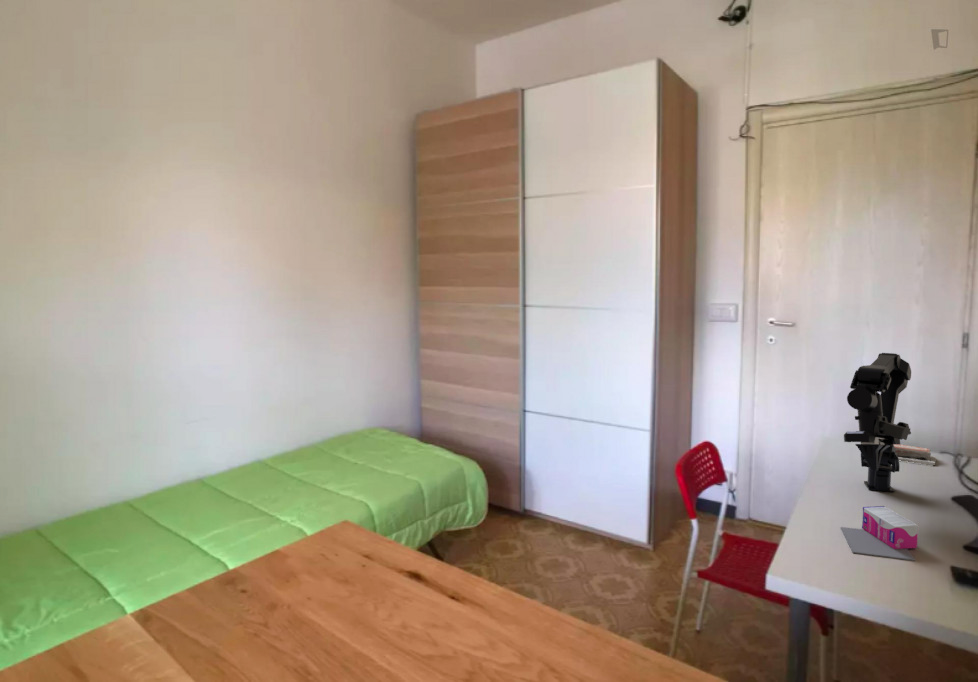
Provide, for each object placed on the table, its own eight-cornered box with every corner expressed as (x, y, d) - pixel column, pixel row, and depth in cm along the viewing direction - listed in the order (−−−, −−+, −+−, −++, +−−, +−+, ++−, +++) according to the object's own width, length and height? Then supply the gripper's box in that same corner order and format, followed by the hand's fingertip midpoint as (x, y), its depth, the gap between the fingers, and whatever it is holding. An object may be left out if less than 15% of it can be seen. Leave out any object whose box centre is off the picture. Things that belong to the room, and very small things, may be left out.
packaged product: (870, 444, 200) (873, 438, 207) (869, 458, 200) (872, 451, 208) (935, 453, 188) (936, 446, 196) (935, 467, 189) (935, 459, 197)
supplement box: (861, 506, 145) (895, 526, 133) (883, 505, 145) (920, 524, 134) (860, 528, 145) (894, 549, 134) (883, 527, 146) (919, 548, 134)
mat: (840, 528, 147) (840, 526, 147) (896, 534, 142) (896, 533, 142) (852, 553, 134) (852, 551, 134) (914, 560, 129) (914, 559, 129)
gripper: (886, 409, 146) (892, 471, 144) (919, 413, 156) (925, 472, 153) (840, 410, 156) (845, 469, 153) (874, 415, 166) (879, 470, 163)
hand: (875, 470), depth 155 cm, fingers closed
